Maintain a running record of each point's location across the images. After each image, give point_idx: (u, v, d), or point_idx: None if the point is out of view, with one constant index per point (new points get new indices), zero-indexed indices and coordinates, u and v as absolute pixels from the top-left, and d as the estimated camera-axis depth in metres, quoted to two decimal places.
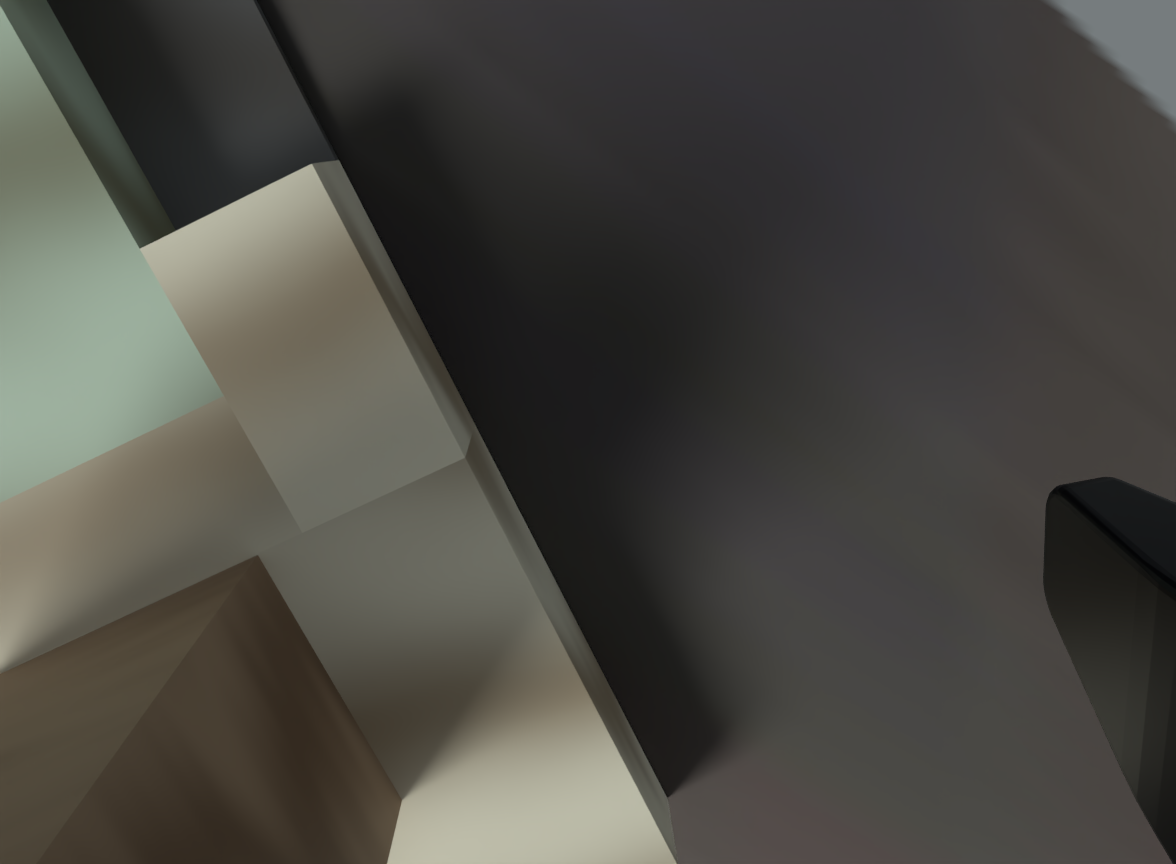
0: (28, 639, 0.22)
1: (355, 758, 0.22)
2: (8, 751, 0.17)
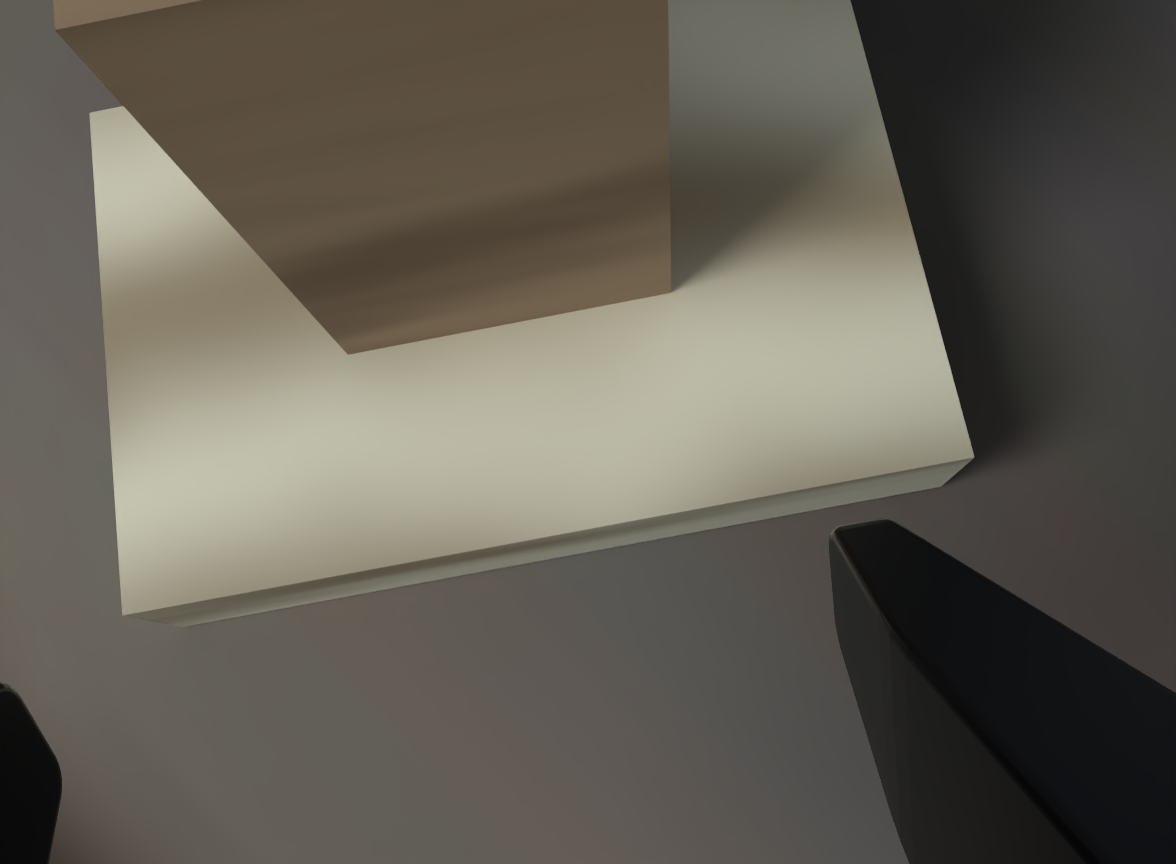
0: None
1: None
2: None
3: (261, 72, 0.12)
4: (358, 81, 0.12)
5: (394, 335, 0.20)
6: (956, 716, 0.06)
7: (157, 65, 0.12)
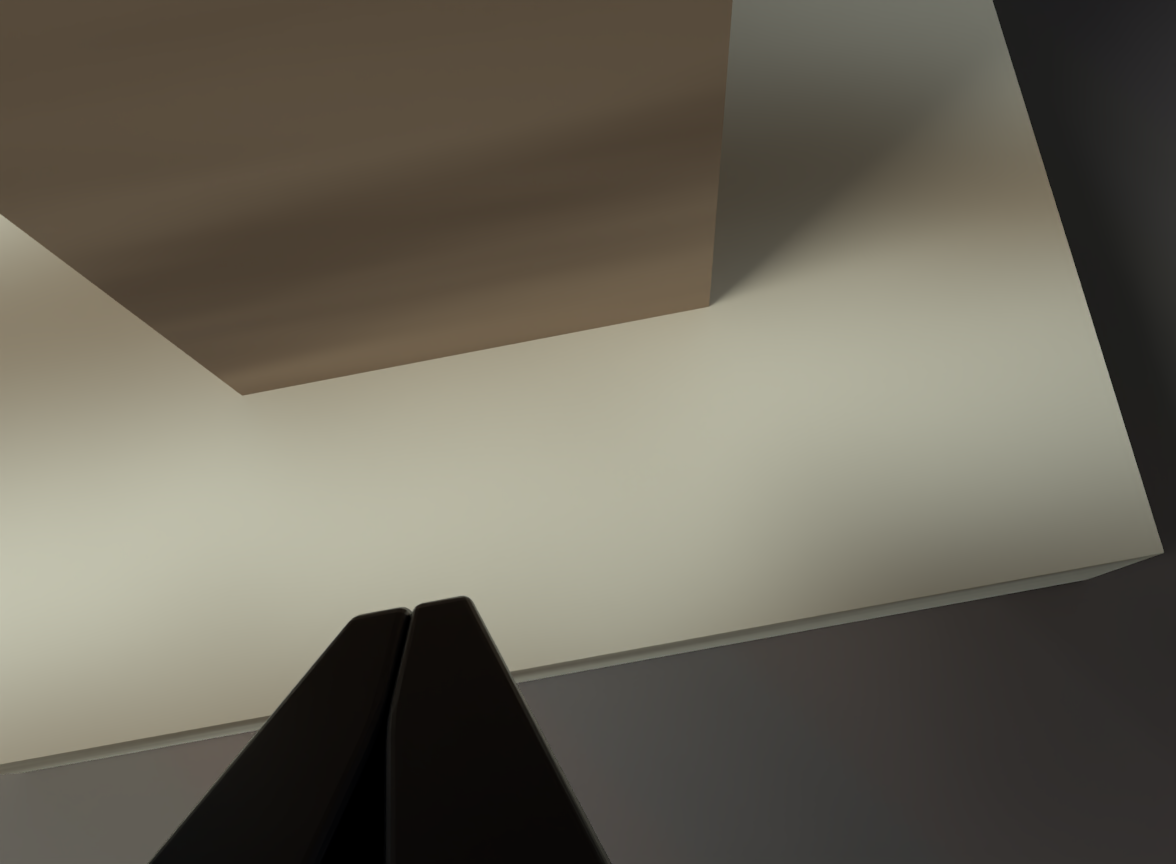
0: None
1: None
2: None
3: None
4: None
5: (306, 367, 0.14)
6: None
7: None
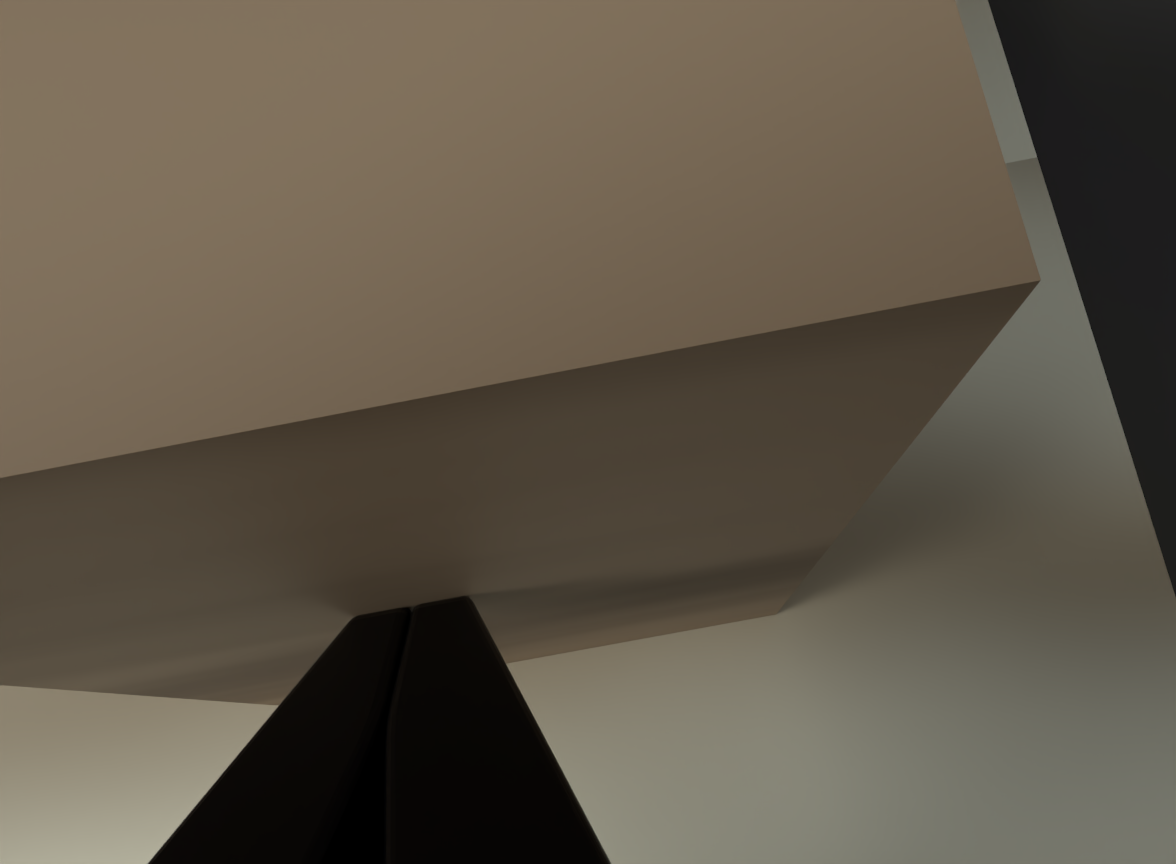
0: None
1: None
2: None
3: None
4: (189, 568, 0.05)
5: None
6: None
7: None
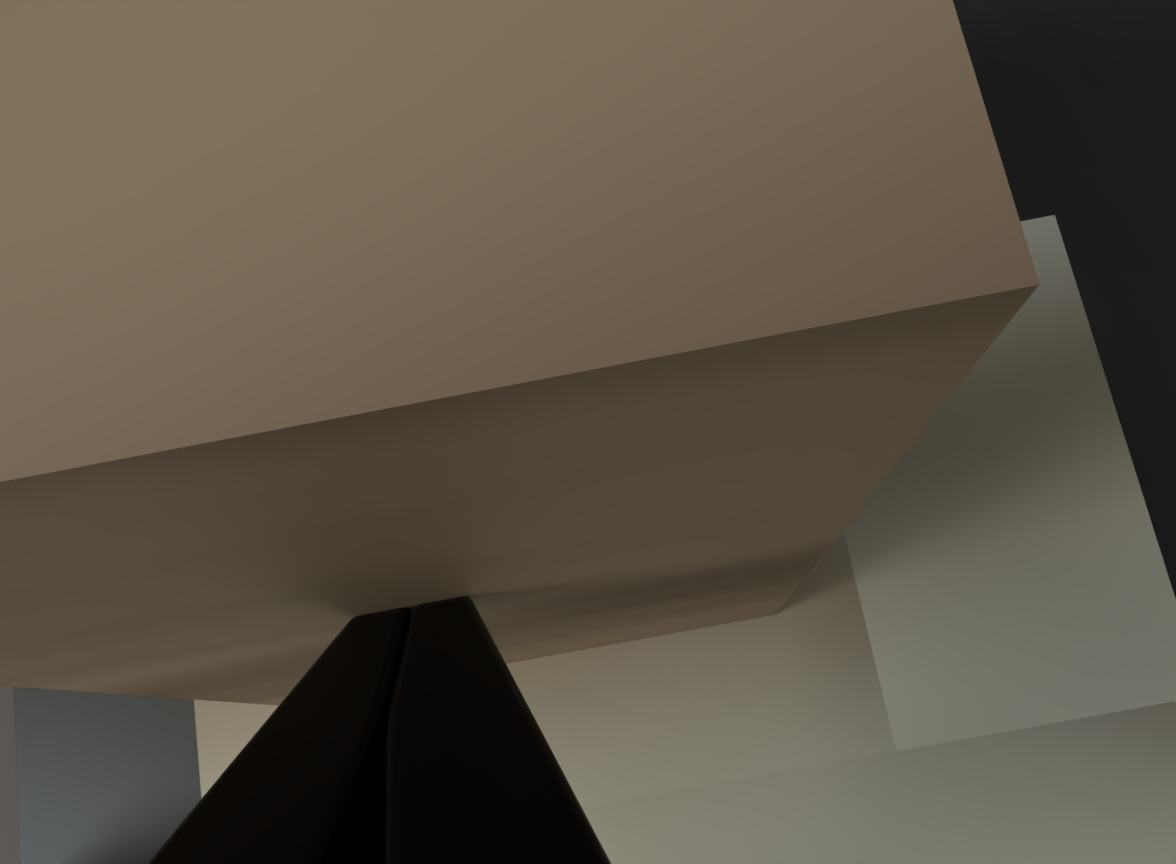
0: None
1: None
2: None
3: None
4: (193, 570, 0.05)
5: None
6: None
7: None
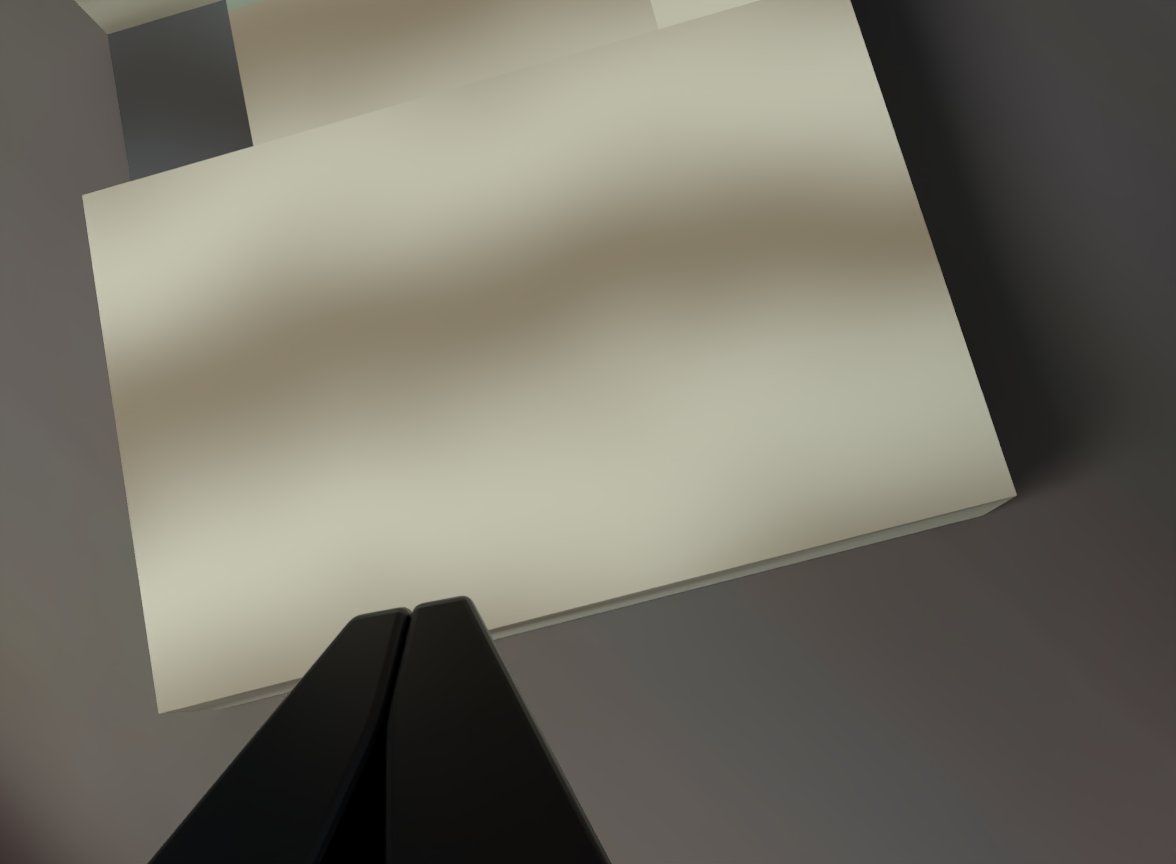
0: (354, 99, 0.21)
1: None
2: None
3: None
4: None
5: None
6: None
7: None
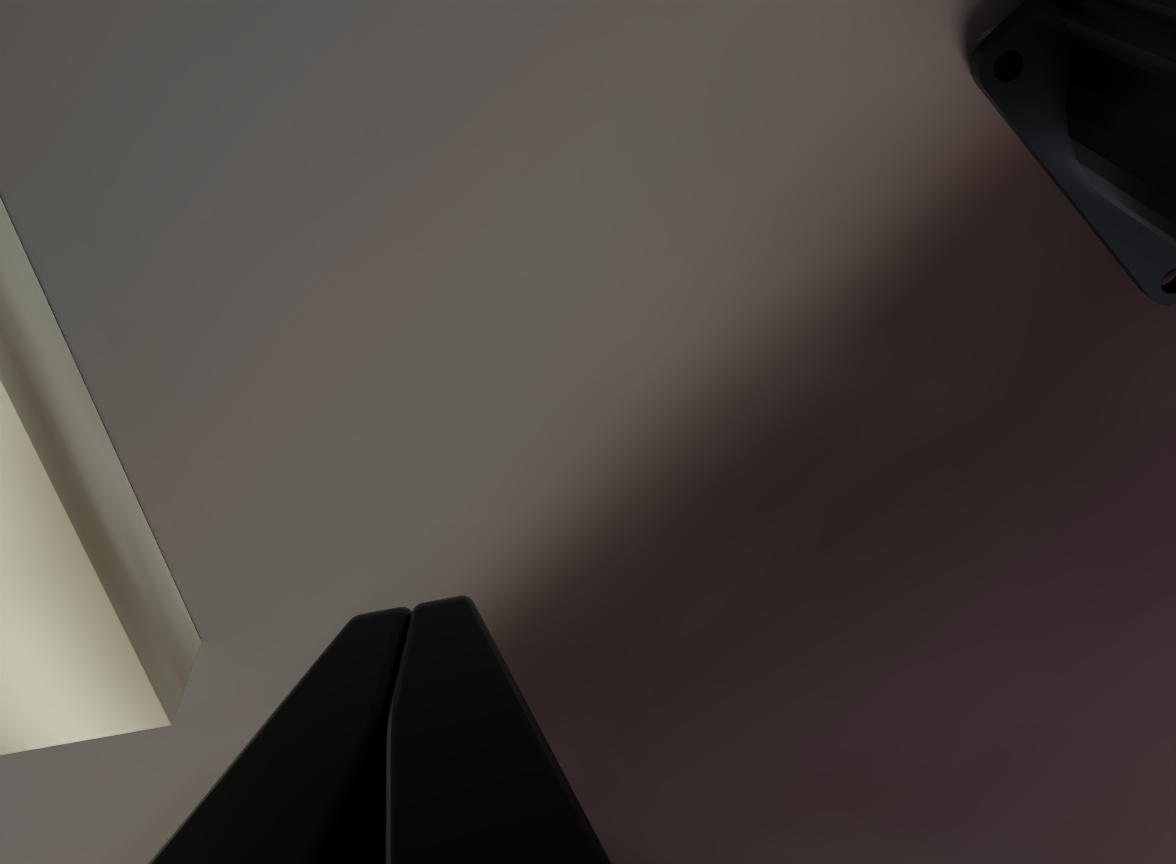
0: None
1: None
2: None
3: None
4: None
5: None
6: None
7: None
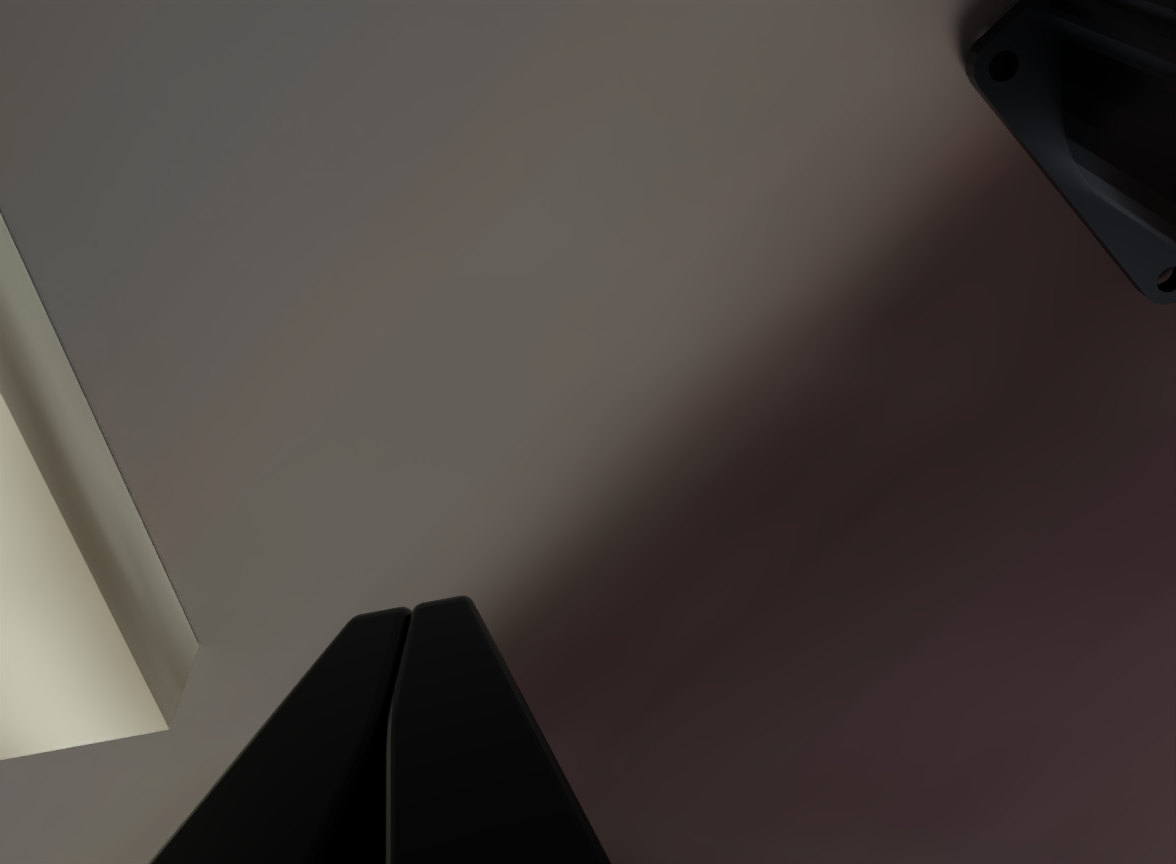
0: None
1: None
2: None
3: None
4: None
5: None
6: None
7: None
